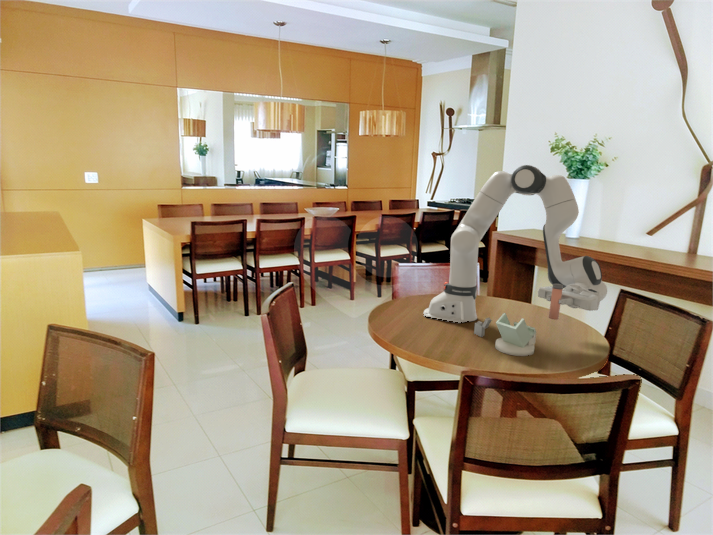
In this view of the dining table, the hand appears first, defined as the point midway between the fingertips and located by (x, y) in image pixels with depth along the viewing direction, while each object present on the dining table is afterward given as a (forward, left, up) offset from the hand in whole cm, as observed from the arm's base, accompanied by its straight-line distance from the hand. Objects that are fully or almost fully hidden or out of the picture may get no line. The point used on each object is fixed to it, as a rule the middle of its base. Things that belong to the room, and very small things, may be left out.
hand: (554, 300), depth 165 cm
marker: (0, +1, -7) cm, 7 cm away
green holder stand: (-11, -3, -18) cm, 21 cm away
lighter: (-23, +6, -18) cm, 30 cm away
